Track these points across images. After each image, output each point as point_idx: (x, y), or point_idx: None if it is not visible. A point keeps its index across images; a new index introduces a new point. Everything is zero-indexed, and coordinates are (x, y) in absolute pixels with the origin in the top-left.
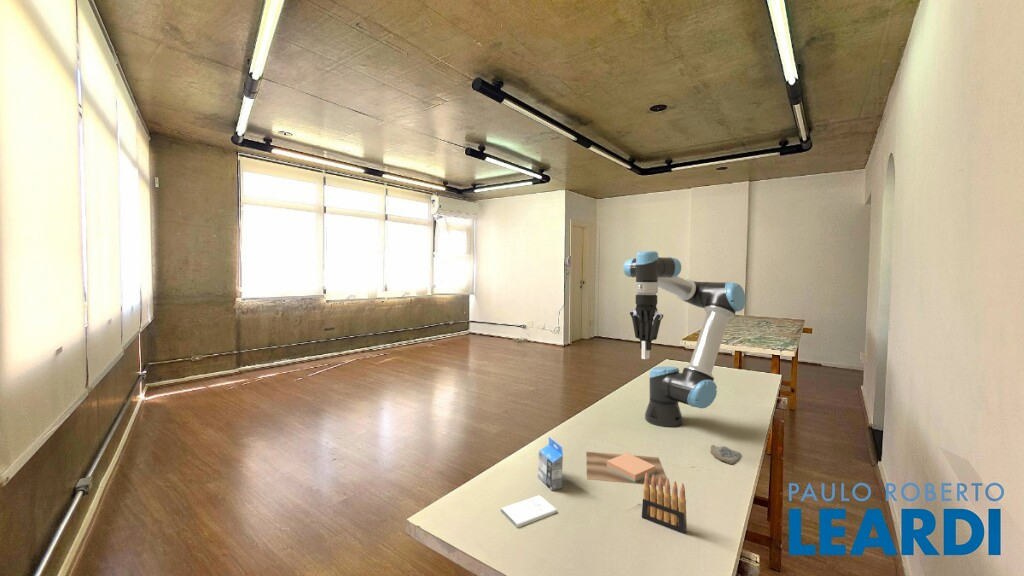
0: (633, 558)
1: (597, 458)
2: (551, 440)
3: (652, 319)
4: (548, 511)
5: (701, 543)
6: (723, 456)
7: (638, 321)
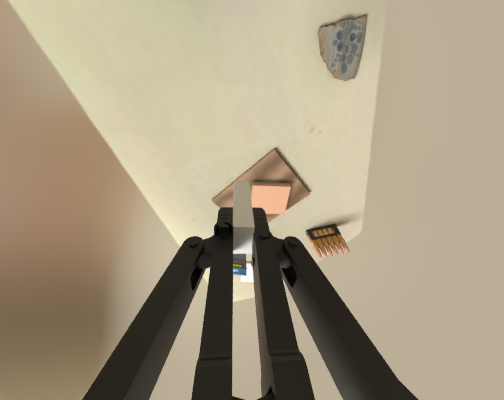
0: (317, 257)
1: (231, 203)
2: None
3: (306, 390)
4: None
5: (345, 227)
6: (344, 68)
7: (149, 360)
